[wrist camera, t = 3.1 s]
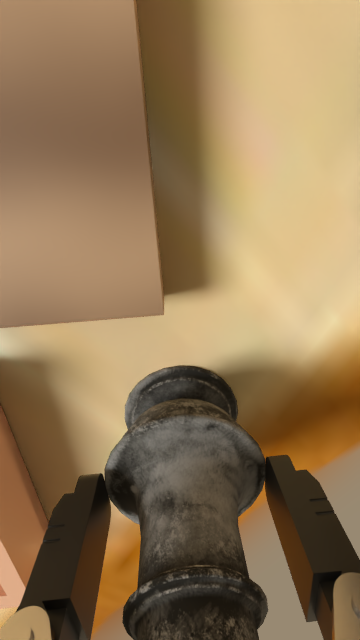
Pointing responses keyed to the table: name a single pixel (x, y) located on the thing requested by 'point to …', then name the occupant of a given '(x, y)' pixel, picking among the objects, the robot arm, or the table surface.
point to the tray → (17, 520)
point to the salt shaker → (188, 508)
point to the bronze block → (75, 165)
